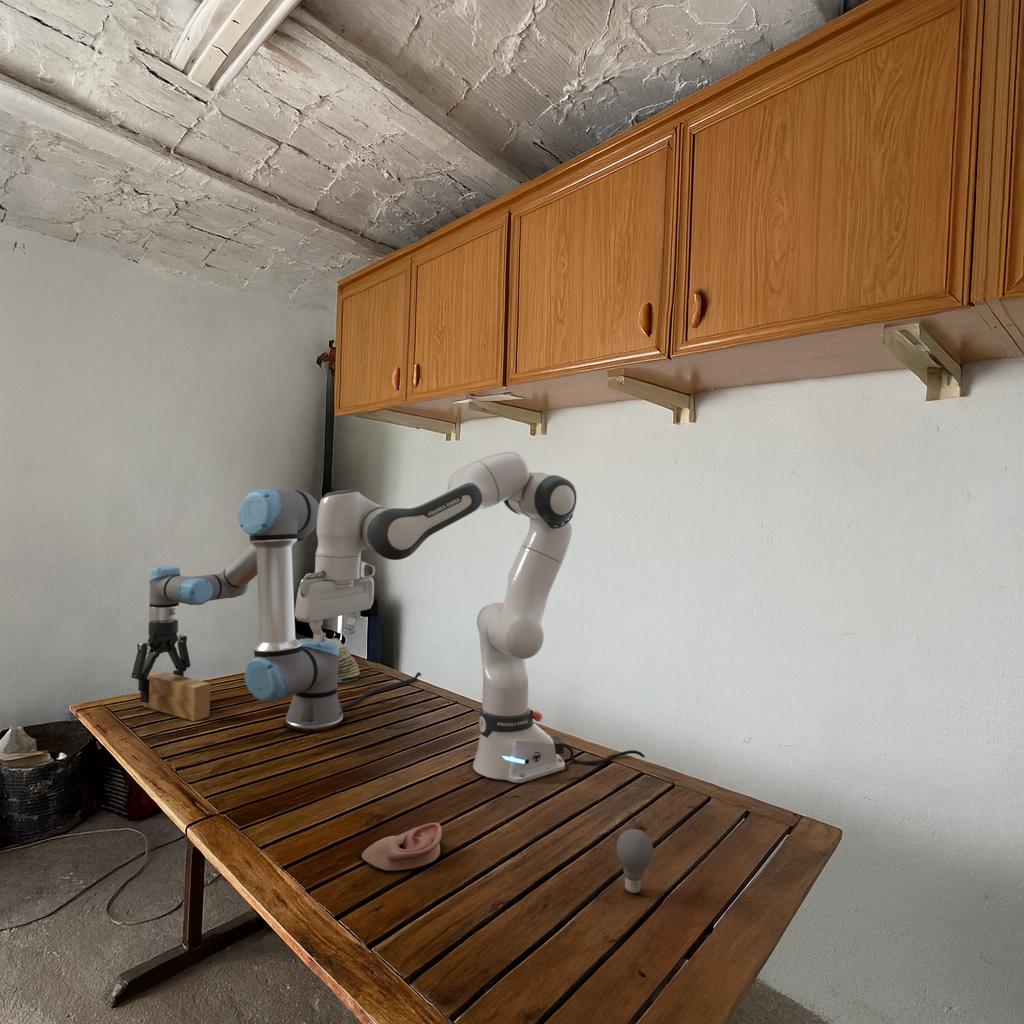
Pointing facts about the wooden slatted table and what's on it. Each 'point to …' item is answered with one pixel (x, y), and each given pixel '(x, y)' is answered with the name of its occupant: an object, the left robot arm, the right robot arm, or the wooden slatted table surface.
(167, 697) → the bar
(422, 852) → the anatomical model
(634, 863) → the light bulb
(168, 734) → the wooden slatted table surface
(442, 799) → the wooden slatted table surface
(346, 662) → the fossil
